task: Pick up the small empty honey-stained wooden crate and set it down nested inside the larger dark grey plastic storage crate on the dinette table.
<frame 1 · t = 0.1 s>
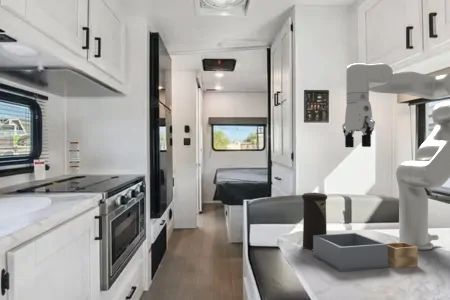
hand: (357, 147, 125), 37 cm above the table, tool pointing down, fingers open, 9 cm apart
grey crate: (348, 261, 111), on the table
container: (314, 248, 128), on the table
wooden crate: (399, 264, 109), on the table
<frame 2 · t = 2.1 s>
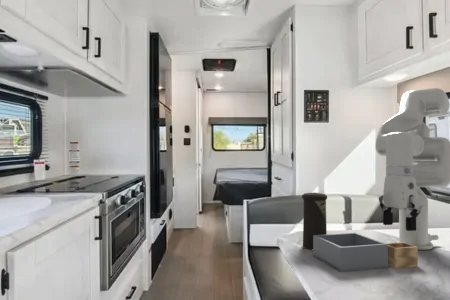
hand: (399, 227, 108), 11 cm above the table, tool pointing down, fingers open, 9 cm apart
nothing on the table moved.
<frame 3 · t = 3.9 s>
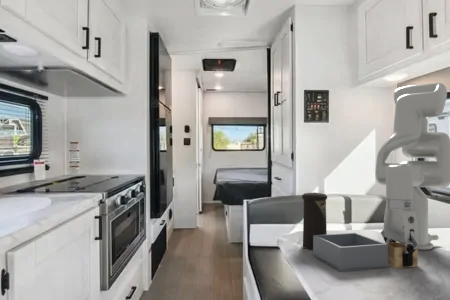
hand: (399, 262, 109), 1 cm above the table, tool pointing down, fingers closed on wooden crate, 6 cm apart
wooden crate: (399, 264, 109), on the table, touching gripper
everything else where it was.
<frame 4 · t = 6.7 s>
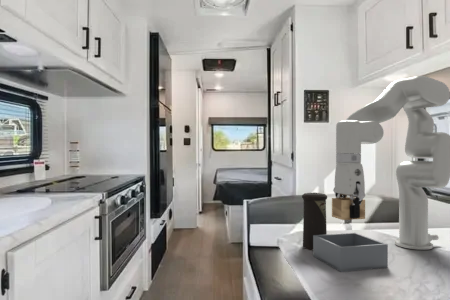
hand: (348, 215, 111), 15 cm above the table, tool pointing down, fingers closed on wooden crate, 6 cm apart
wooden crate: (348, 217, 111), point 14 cm above the table, touching gripper
everything else where it was.
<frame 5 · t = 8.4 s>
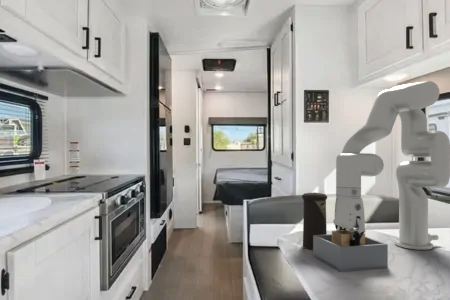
hand: (348, 248, 111), 4 cm above the table, tool pointing down, fingers closed on wooden crate, 6 cm apart
wooden crate: (348, 251, 111), point 3 cm above the table, touching gripper
everything else where it was.
when the fingers open (3 cm above the table, at t = 9.5 s): wooden crate drops 2 cm, resting on grey crate.
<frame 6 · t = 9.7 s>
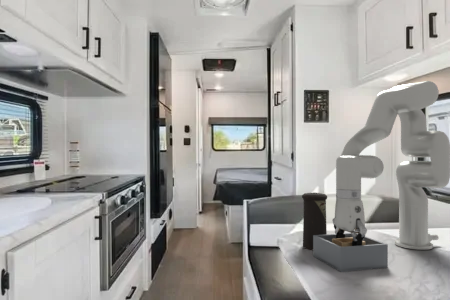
hand: (348, 249, 111), 4 cm above the table, tool pointing down, fingers open, 8 cm apart
wooden crate: (348, 259, 111), point 1 cm above the table, touching grey crate
everything else where it was.
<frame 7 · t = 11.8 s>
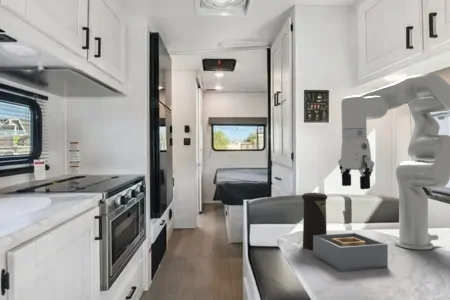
hand: (355, 187, 114), 23 cm above the table, tool pointing down, fingers open, 9 cm apart
nothing on the table moved.
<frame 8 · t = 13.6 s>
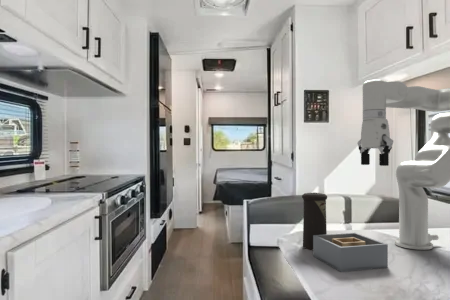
hand: (374, 165, 122), 30 cm above the table, tool pointing down, fingers open, 9 cm apart
nothing on the table moved.
at the end: wooden crate inside the target area on the grey crate (0.1 cm from its centre), point 0.8 cm above the grey crate's base; wooden crate tilted 0°; the gripper is holding nothing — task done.
